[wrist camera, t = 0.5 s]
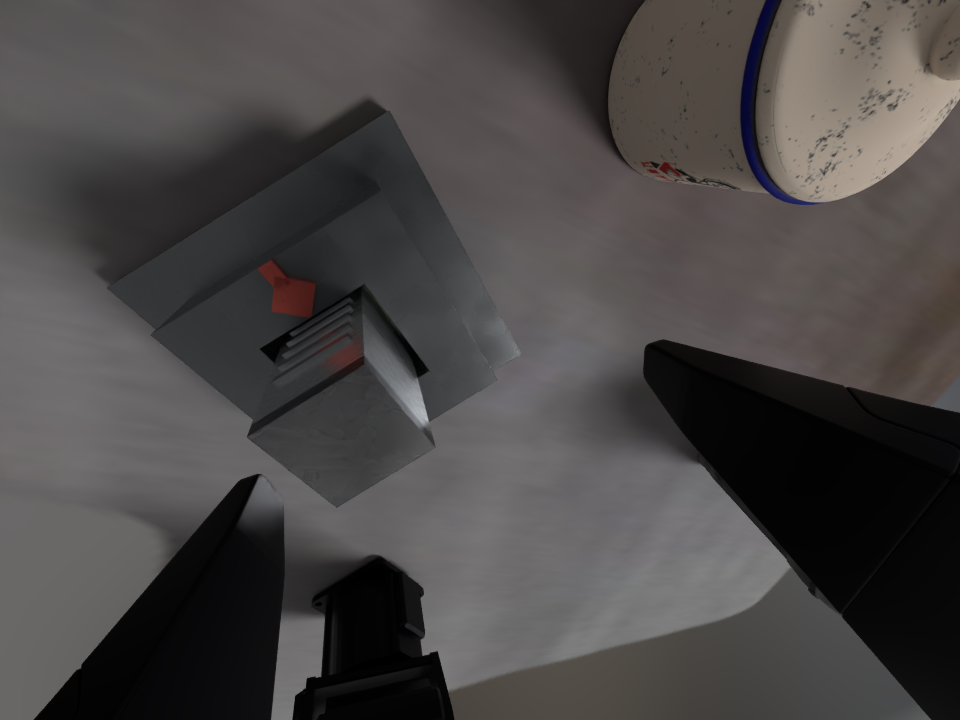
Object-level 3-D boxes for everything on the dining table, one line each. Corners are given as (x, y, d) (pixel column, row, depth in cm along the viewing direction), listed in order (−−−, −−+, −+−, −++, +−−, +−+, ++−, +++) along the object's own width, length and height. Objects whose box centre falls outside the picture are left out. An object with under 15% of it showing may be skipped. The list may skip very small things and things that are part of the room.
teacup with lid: (604, 205, 21) (814, 256, 12) (593, -14, 17) (933, -240, 7) (788, 146, 23) (1113, 149, 13) (826, -71, 18) (1387, -327, 8)
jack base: (327, 463, 25) (321, 525, 21) (116, 282, 17) (43, 323, 13) (516, 348, 24) (547, 388, 20) (388, 111, 17) (397, 101, 13)
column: (343, 378, 21) (336, 510, 13) (286, 317, 19) (239, 435, 11) (409, 337, 21) (439, 447, 13) (360, 271, 19) (363, 359, 11)
